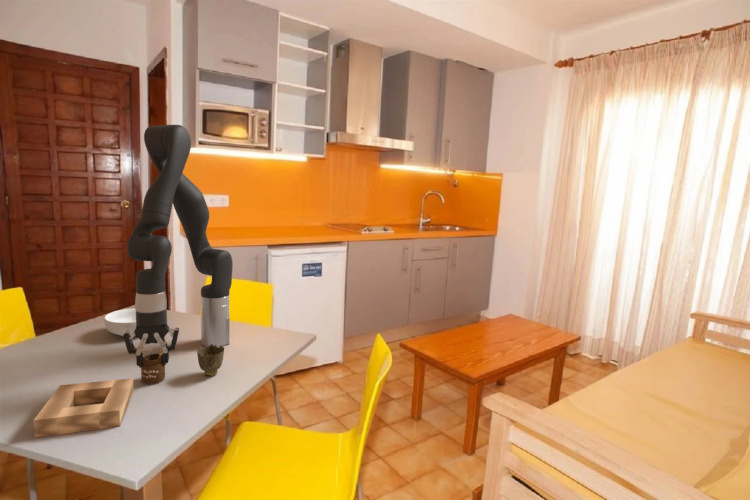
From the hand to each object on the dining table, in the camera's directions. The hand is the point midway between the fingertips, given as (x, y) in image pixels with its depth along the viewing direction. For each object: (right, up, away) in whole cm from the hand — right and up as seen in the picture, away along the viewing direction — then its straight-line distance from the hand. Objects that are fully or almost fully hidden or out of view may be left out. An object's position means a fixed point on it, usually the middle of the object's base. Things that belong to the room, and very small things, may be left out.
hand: (152, 365), depth 116 cm
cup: (+14, -5, +6) cm, 16 cm away
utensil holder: (0, -5, +1) cm, 5 cm away
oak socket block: (-7, -7, -16) cm, 19 cm away
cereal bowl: (-25, +2, +34) cm, 42 cm away
